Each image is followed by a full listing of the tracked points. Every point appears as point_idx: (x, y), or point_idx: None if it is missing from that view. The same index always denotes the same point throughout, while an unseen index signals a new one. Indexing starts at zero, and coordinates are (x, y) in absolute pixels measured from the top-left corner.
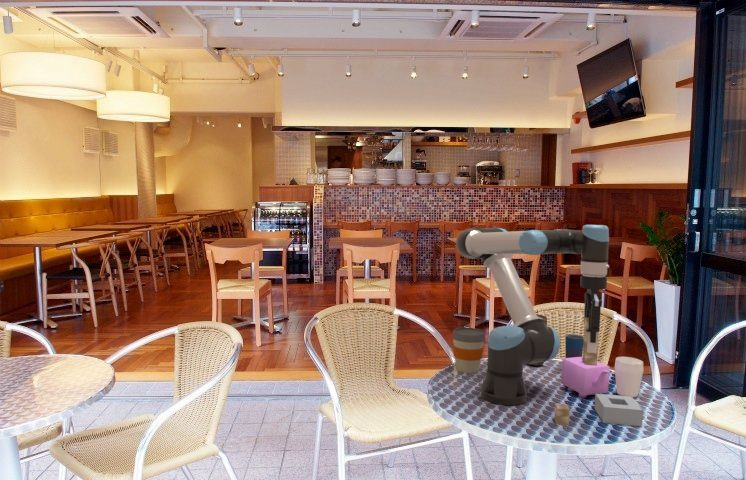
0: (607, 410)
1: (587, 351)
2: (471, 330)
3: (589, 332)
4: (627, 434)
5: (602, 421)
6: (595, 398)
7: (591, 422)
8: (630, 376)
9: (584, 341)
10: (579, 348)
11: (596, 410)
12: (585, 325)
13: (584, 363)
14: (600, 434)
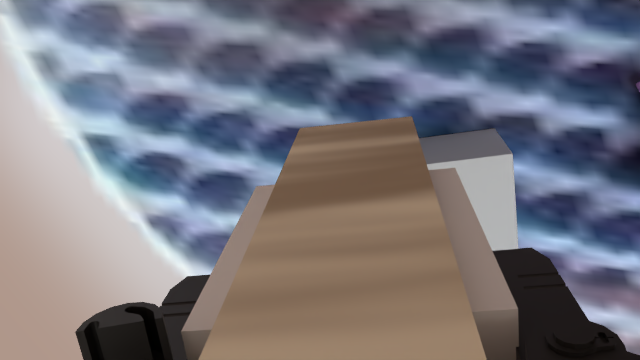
0: None
1: (253, 193)
2: None
3: (194, 343)
4: (223, 237)
5: None
6: (499, 146)
7: (295, 98)
8: None
9: (364, 198)
10: None
11: (452, 135)
12: (317, 350)
13: (314, 128)
14: (169, 127)
